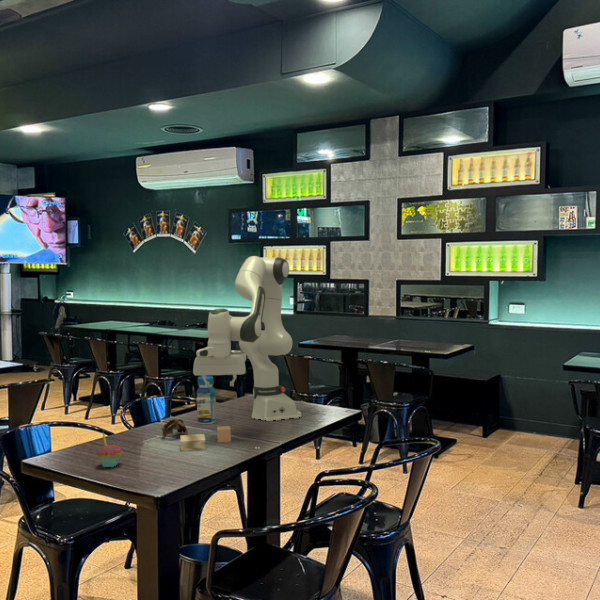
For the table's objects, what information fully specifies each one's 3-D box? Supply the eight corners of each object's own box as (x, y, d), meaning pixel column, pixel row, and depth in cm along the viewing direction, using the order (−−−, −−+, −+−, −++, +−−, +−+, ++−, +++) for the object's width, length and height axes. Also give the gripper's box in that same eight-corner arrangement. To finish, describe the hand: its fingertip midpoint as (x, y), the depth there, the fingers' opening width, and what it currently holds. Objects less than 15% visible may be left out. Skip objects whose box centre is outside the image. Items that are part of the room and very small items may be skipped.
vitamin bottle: (220, 422, 273) (218, 377, 272) (202, 425, 269) (200, 379, 268) (211, 419, 280) (210, 374, 279) (193, 422, 276) (192, 376, 275)
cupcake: (98, 470, 210) (97, 435, 209) (95, 464, 218) (94, 429, 217) (124, 467, 213) (123, 432, 213) (121, 460, 221) (120, 426, 221)
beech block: (204, 444, 241) (204, 433, 241) (205, 450, 232) (205, 439, 232) (180, 445, 240) (180, 435, 239) (180, 452, 231) (180, 441, 231)
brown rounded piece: (187, 441, 247) (176, 424, 245) (167, 450, 249) (156, 434, 247) (194, 426, 258) (183, 410, 256) (174, 435, 260) (164, 419, 258)
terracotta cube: (230, 438, 248) (229, 425, 248) (230, 441, 243) (230, 429, 243) (217, 439, 247) (217, 426, 247) (217, 442, 242) (217, 429, 242)
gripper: (245, 349, 248) (246, 384, 248) (193, 350, 245) (193, 385, 246) (246, 351, 241) (246, 387, 242) (192, 352, 239) (193, 388, 239)
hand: (219, 386), depth 244 cm, fingers open, 8 cm apart
